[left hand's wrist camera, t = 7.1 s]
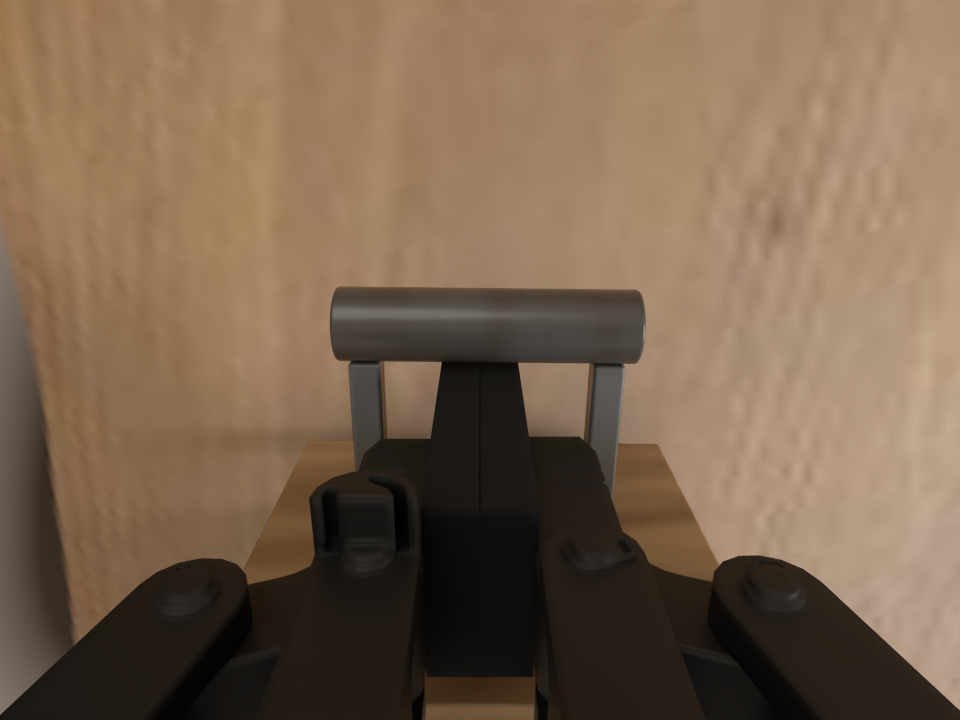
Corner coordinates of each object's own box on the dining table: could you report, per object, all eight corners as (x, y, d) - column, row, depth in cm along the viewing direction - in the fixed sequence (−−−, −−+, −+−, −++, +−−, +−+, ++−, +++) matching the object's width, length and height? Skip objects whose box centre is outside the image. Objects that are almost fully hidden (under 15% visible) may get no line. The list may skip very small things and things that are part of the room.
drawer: (288, 233, 17) (103, 363, 9) (683, 238, 17) (877, 372, 9) (341, 799, 25) (269, 1161, 16) (615, 802, 25) (683, 1164, 16)
